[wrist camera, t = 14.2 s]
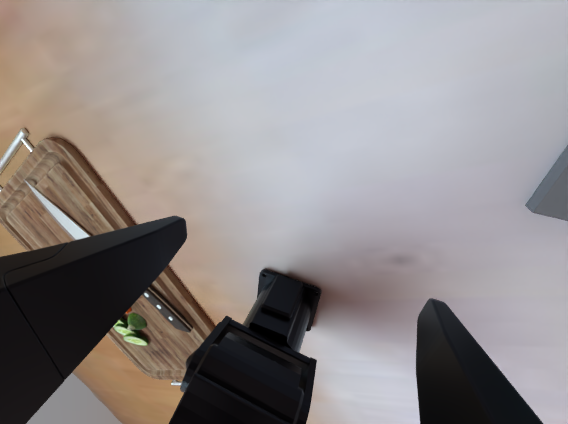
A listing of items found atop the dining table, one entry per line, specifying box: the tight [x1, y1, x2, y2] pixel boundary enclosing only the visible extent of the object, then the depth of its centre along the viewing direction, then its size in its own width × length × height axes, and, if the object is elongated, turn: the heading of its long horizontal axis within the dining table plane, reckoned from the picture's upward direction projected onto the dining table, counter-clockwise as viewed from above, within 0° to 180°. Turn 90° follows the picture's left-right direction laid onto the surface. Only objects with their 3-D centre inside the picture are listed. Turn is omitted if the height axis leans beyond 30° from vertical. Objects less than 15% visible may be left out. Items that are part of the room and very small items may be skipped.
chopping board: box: [0, 128, 215, 386], centre depth 38 cm, size 45×27×3 cm, turn 31°
